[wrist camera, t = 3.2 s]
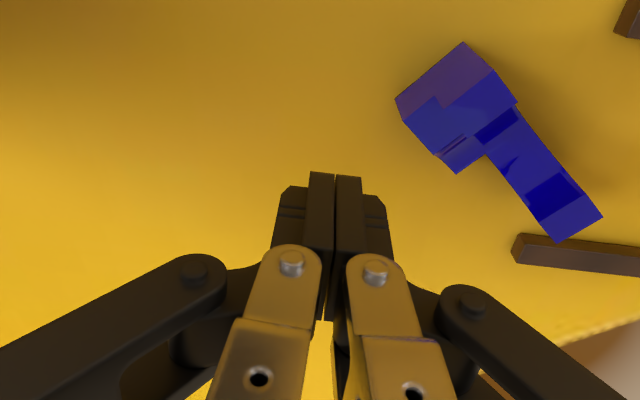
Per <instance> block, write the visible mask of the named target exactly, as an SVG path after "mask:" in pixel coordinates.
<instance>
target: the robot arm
mask: <svg viewBox="0 0 640 400" xmlns="http://www.w3.org/2000/svg"><path fill="white" fill-rule="evenodd" d="M334 181H335V183H334ZM323 307H324V321H331V322H333V336H332V341H331V346H330V353H331V366H332V380H333V394H334V400H505V399H504V398H503V397H502V396H501V395H500V394H499V393H498V392H497V391H496V390H495V389H494V388H492V387H491V386H490V385H489V384H488V383H487V382H486V381H485V380H484V379H483V378H481V376H479V375H478V372H479V370H480V368H481V369H482V370H483V371H484V372H485V373H487V374H488V375H489V376H490V377H491V378H492V379H493V380H494V381H495V382H497V383H498V384H499V385H500V386H501V387H502V388H503V389H504V390H505V391H506V392H508V393H509V394H510V395H511V396H512V397H513V398H514V399H515V400H627V399H626V398H624V397H623V396H622V395H620V394H619V393H618V392H616V391H615V390H614V389H612V388H611V387H610V386H608V385H607V384H606V383H604V382H603V381H602V380H601V379H599V378H598V377H597V376H595V375H594V374H593V373H591V372H590V371H589V370H588V369H586V368H585V367H584V366H582V365H581V364H579V363H578V362H577V361H575V360H574V359H573V358H572V357H570V356H569V355H568V354H567V353H565V352H564V351H562V350H561V349H560V348H559V347H557V346H556V345H555V344H553V343H552V342H551V341H550V340H548V339H547V338H546V337H544V336H543V335H542V334H540V333H539V332H538V331H536V330H535V329H534V328H532V327H531V326H530V325H529V324H527V323H526V322H525V321H523V320H522V319H521V318H519V317H518V316H517V315H515V314H514V313H513V312H511V311H510V310H509V309H508V308H506V307H505V306H504V305H502V304H501V303H500V302H498V301H497V300H496V299H494V298H493V297H492V296H490V295H489V294H488V293H486V292H484V291H483V290H481V289H478V288H476V287H473V286H469V285H463V284H456V285H451V286H448V287H446V288H445V289H444V290H443V291H442V292H441V295H438V294H436V293H433V292H430V291H427V290H424V289H422V288H419V287H417V286H415V285H413V284H411V283H410V282H408V281H407V280H406V277H405V274H404V271H403V270H402V268H401V267H400V266H399V265H398V264H397V263H396V262H395V261H394V256H393V250H392V244H391V237H390V231H389V225H388V220H387V213H386V207H385V205H384V204H383V203H382V202H381V200H380V199H379V198H378V197H377V196H375V195H366V194H363V193H362V182H361V177H355V176H347V175H339V174H336V177H335V175H334V174H330V173H322V172H313V171H310V177H309V185H308V188H307V187H299V186H291V185H290V186H289V187H288V188H287V189H286V190H285V191H284V192H283V193H282V194H281V198H280V203H279V207H278V212H277V217H276V222H275V227H274V232H273V236H272V241H271V246H270V250H268V251H267V252H266V253H265V254H264V256H263V258H262V261H260V262H259V263H257V264H255V265H252V266H249V267H246V268H240V269H232V270H227V269H226V267H225V265H224V264H223V263H222V262H221V261H220V260H219V259H217V258H215V257H213V256H210V255H206V254H188V255H183V256H180V257H178V258H175V259H173V260H171V261H169V262H168V263H166V264H164V265H162V266H160V267H158V268H156V269H154V270H152V271H150V272H148V273H146V274H144V275H142V276H140V277H138V278H136V279H134V280H132V281H130V282H128V283H126V284H124V285H122V286H120V287H119V288H117V289H115V290H113V291H111V292H109V293H107V294H105V295H103V296H101V297H99V298H97V299H95V300H93V301H91V302H89V303H87V304H85V305H83V306H81V307H79V308H77V309H75V310H73V311H71V312H70V313H68V314H66V315H64V316H62V317H60V318H58V319H56V320H54V321H52V322H50V323H48V324H46V325H44V326H42V327H40V328H38V329H36V330H34V331H32V332H30V333H28V334H26V335H24V336H22V337H21V338H19V339H17V340H15V341H13V342H11V343H9V344H7V345H5V346H3V347H1V348H0V400H185V399H186V398H187V397H189V396H190V395H191V394H192V393H194V392H195V391H196V390H198V389H199V388H200V387H201V386H203V385H204V384H205V383H207V382H208V381H209V380H210V379H212V378H213V380H212V383H211V385H210V388H209V391H208V394H207V397H206V399H205V400H301V395H302V389H303V382H304V376H305V370H306V364H307V357H308V351H309V345H310V341H311V340H312V338H313V336H314V330H315V324H316V320H320V321H321V319H322V313H323Z"/></svg>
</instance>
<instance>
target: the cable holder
mask: <svg viewBox="0 0 640 400" xmlns="http://www.w3.org/2000/svg"><path fill="white" fill-rule="evenodd" d="M395 101H396V104H397V107H398V110H399V112H400V115H401V118H402V121H403V122H404V123H405V124H406V125H407V126H408V128H409V129H410V130H411V131H412V132H413V133H414V134H415V135H416V136H417V138H418V139H419V140H420V141H421V142H422V143H423V144H424V145H425V146H426V147H427V149H428V150H429V151H430V152H431V153H432V154H433V155H435V156H437V157H438V158H439V159H441V160H442V161H443V162H444V163H445V164H446V165H447V166H448V167H449V168H450V169H451V170H452V171H453V172H454V173H455V174H457V173H459V172H460V171H462V170H463V169H464V168H466V167H467V166H469V165H470V164H471V163H473V162H474V161H476V160H477V159H478V158H480V157H481V156H483V155H484V154H486V155H487V156H488V157H489V159H490V160H491V161H492V162H493V163H494V165H495V166H496V167H497V168H498V170H499V171H500V172H501V173H502V175H503V176H504V177H505V178H506V180H507V181H508V182H509V184H510V185H511V186H512V187H513V189H514V190H515V191H516V193H517V194H518V195H519V197H520V198H521V199H522V201H523V202H524V203H525V205H526V206H527V207H528V209H529V210H530V212H531V213H532V214H533V216H534V217H535V219H536V220H537V221H538V223H539V224H540V225H541V226H542V228H543V229H544V230H545V231H546V232H547V234H548V235H549V236H550V237H551V238H552V239H553V241H554V242H555V243H556V244H558V243H560V242H561V241H563V240H565V239H567V238H568V237H570V236H572V235H574V234H575V233H577V232H579V231H580V230H582V229H584V228H586V227H587V226H589V225H591V224H593V223H594V222H596V221H598V220H600V219H601V218H603V216H602V214H601V213H600V212H599V210H598V209H597V208H596V206H595V205H594V204H593V202H592V201H591V200H590V198H589V197H588V196H587V194H586V193H585V192H584V191H583V190H582V189H581V188H580V186H579V185H578V184H577V183H576V182H575V181H574V180H573V179H572V177H571V176H570V175H569V174H568V173H567V172H566V170H565V169H564V168H563V167H562V166H561V165H560V163H559V162H558V161H557V160H556V159H555V157H554V156H553V155H552V154H551V152H550V151H549V150H548V149H547V147H546V146H545V145H544V144H543V143H542V141H541V140H540V139H539V137H538V136H537V135H536V134H535V132H534V131H533V130H532V128H531V127H530V126H529V124H528V123H527V122H526V120H525V119H524V118H523V116H522V115H521V114H520V112H519V111H518V109H517V108H516V106H515V104H516V103H517V100H516V99H515V97H514V96H513V95H512V93H511V92H510V91H509V89H508V88H507V87H506V85H505V84H504V83H503V81H502V80H501V79H500V77H499V76H498V75H497V73H496V72H495V71H494V69H492V68H491V67H490V66H489V65H488V64H487V63H486V62H485V61H484V60H483V59H482V58H480V57H479V56H478V55H477V54H476V53H475V52H474V51H473V50H472V49H471V48H470V47H468V46H467V45H466V44H465V43H464V42H462V43H460V44H459V45H458V46H457V47H456V48H454V49H453V50H452V51H451V52H450V53H449V54H447V55H446V56H445V57H444V58H443V59H441V60H440V61H439V62H438V63H437V64H435V65H434V66H433V67H432V68H431V69H429V70H428V71H427V72H426V73H425V74H424V75H422V76H421V77H420V78H419V79H418V80H416V81H415V82H414V83H413V84H412V85H410V86H409V87H408V88H407V89H406V90H405V91H403V92H402V93H401V94H400V95H399V96H397V97H396V98H395Z"/></svg>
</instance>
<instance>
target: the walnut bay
mask: <svg viewBox="0 0 640 400" xmlns="http://www.w3.org/2000/svg"><path fill="white" fill-rule="evenodd" d="M613 32H614V33H616V34H619V35H621V36H624V37H626V38H633V39H640V0H627V2H626V4H625V6H624V9H623V11H622V13H621V15H620V17H619V19H618V21H617V24H616V26H615V28H614V30H613ZM511 254H512V256H513V258H514V259H515V261H516V263H518V264H527V265H536V266H544V267H553V268H562V269H570V270H579V271H588V272H596V273H605V274H614V275H622V276H631V277H640V248H639V247H630V246H622V245H614V244H605V243H597V242H588V241H580V240H572V239H565V240H563V241H561V242H560V243H558V244H556V243H555V242H554V241H553V239H552V238H551V237H547V236H538V235H530V234H521V233H520V234H518V236H517V238H516V241H515V243H514V245H513V247H512V249H511Z"/></svg>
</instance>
